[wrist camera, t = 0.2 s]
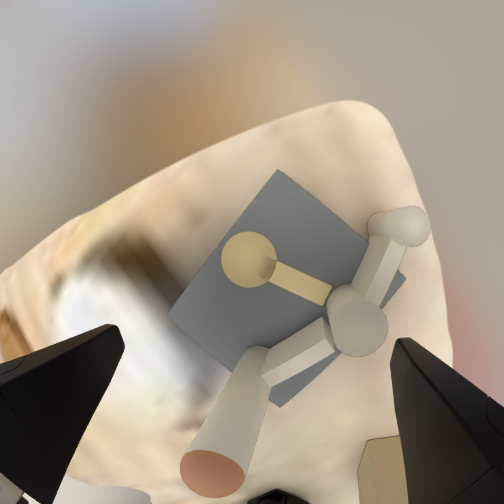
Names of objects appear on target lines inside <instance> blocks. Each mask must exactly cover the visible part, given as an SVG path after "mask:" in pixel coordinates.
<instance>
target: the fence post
mask: <svg viewBox="0 0 504 504" xmlns="http://www.w3.org/2000/svg"><path fill="white" fill-rule="evenodd" d="M334 352H335V350H334V345H333V340H332V335H331V330H330V327H329V325H328V324H327V322H326V321H325V320H324V318H323V317H320V318H319V319H317V320H316V321H314V322H312V323H311V324H309V325H308V326H306V327H305V328H303V329H301V330H300V331H298V332H297V333H295V334H293V335H292V336H290V337H288V338H287V339H285V340H283V341H282V342H280V343H278V344H277V345H275V346H273V347H272V348H270V349H268V348H266V347H263V346H253V347H250V348H248V349H247V350H246V351H245V352H244V353H243V355H242V357H241V358H240V360H239V362H238V364H237V366H236V367H235V369H234V371H233V373H232V375H231V376H230V378H229V380H228V382H227V383H226V385H225V387H224V389H223V390H222V392H221V394H220V396H219V397H218V399H217V401H216V403H215V404H214V406H213V408H212V409H211V411H210V413H209V415H208V416H207V418H206V420H205V421H204V423H203V425H202V426H201V428H200V430H199V431H198V433H197V435H196V436H195V438H194V440H193V441H192V443H191V445H190V446H189V448H188V449H187V451H186V453H185V454H184V456H183V458H182V460H181V463H180V473H181V477H182V479H183V481H184V483H185V484H186V485H187V486H188V487H189V488H190V489H191V490H192V491H194V492H195V493H197V494H199V495H201V496H205V497H210V498H220V497H225V496H228V495H230V494H232V493H234V492H235V491H236V490H238V489H239V488H240V486H241V485H242V483H243V481H244V479H245V476H246V473H247V470H248V467H249V464H250V460H251V457H252V454H253V451H254V447H255V444H256V441H257V437H258V434H259V431H260V427H261V424H262V420H263V417H264V413H265V410H266V406H267V402H268V399H269V395H270V391H271V388H272V387H273V386H275V385H277V384H279V383H281V382H283V381H284V380H286V379H288V378H290V377H292V376H294V375H296V374H298V373H299V372H301V371H303V370H305V369H307V368H308V367H310V366H312V365H314V364H315V363H317V362H319V361H320V360H322V359H324V358H325V357H327V356H329V355H330V354H332V353H334Z"/></svg>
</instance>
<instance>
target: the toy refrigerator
mask: <svg viewBox="0 0 504 504" xmlns="http://www.w3.org/2000/svg"><path fill="white" fill-rule="evenodd" d="M357 475H358V487H359V501H360V504H408V494H407V484H406V475H405V467H404V460H403V453H402V447H401V441H400V436H396V437H389V438H381V439H373V440H369V441H367V443H366V447H365V450H364V453H363V456H362V460H361V463H360V466H359V469H358V472H357Z"/></svg>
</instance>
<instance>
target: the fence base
mask: <svg viewBox="0 0 504 504" xmlns="http://www.w3.org/2000/svg"><path fill="white" fill-rule="evenodd" d="M368 232H369V235H370V237H369V239H368V241H367V242H368V243H369V246H368V248H367V250H366V253H365V255H364V257H363V259H362V261H361V264H360V266H359V268H358V270H357V272H356V274H355V276H354V279H353V281H352V283H351V284H344V285H341V286H339V287H337V288H336V289H334V290H333V291H332V293H331V294H330V295H329V297H328V300H327V305H326V308H327V314H328V318H329V322H330V327H331V331H332V336H333V340H334V343H335V345H336V347H337V348H338V349H339V350H340V351H341V352H342V353H344V354H346V355H348V356H352V357H362V356H366V355H368V354H371V353H372V352H374V351H375V350H377V349H378V348H379V347H380V346H381V345H382V343H383V342H384V340H385V338H386V336H387V332H388V321H387V318H386V316H385V314H384V312H383V311H382V310H381V309H380V308H379V306H380V304H381V302H382V300H383V298H384V296H385V294H386V292H387V290H388V288H389V286H390V284H391V282H392V279H393V277H394V275H395V273H396V271H397V269H398V266H399V264H400V262H401V259H402V257H403V255H404V252H405V250H406V248H407V246H409V247H417V246H420V245H421V244H423V243H424V242H425V241H426V239H427V238H428V236H429V233H430V221H429V218H428V216H427V214H426V213H425V212H424V211H423V210H422V209H421V208H419V207H417V206H406V207H402V208H398V209H394V210H390V211H385V212H381V213H377V214H375V215H373V216H372V217H371V218H370V219H369V222H368Z"/></svg>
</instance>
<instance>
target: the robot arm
mask: <svg viewBox="0 0 504 504" xmlns="http://www.w3.org/2000/svg"><path fill="white" fill-rule="evenodd" d="M124 349H125V344H124V341H123V339H122V336H121V333H120V330H119V328H118V327H117V326H116V325H112V324H105V325H103V326H100V327H97V328H95V329H92V330H90V331H87V332H85V333H82V334H79V335H77V336H74V337H72V338H69V339H67V340H64V341H61V342H59V343H56V344H54V345H51V346H48V347H46V348H43V349H40V350H38V351H35V352H32V353H30V354H28V355H24V356H22V357H19V358H16V359H13V360H11V361H8V362H4V363H1V364H0V504H29V503H28V501H27V500H26V499H25V498H24V497H23V496H22V495H23V494H24V492H25V493H26V494H28V495H29V496H30V497H32V498H33V499H35V500H36V501H38V502H39V503H40V504H52V503H53V501H54V499H55V496H56V494H57V491H58V489H59V487H60V484H61V482H62V480H63V477H64V475H65V473H66V471H67V468H68V466H69V463H70V461H71V459H72V457H73V455H74V453H75V451H76V448H77V446H78V444H79V442H80V440H81V438H82V436H83V434H84V432H85V430H86V428H87V426H88V424H89V422H90V420H91V418H92V416H93V414H94V412H95V410H96V408H97V407H98V405H99V403H100V401H101V399H102V397H103V395H104V393H105V392H106V390H107V388H108V386H109V384H110V382H111V380H112V377H113V375H114V373H115V370H116V368H117V366H118V363H119V361H120V359H121V357H122V354H123V352H124ZM390 370H391V378H392V387H393V397H394V407H395V414H396V419H397V424H398V429H399V435H400V441H401V447H402V453H403V460H404V467H405V475H406V484H407V494H408V504H504V407H503V406H501V405H500V404H499V403H497V402H496V401H494V400H493V399H492V398H491V397H490V396H489V397H487V394H485V393H484V392H483V391H482V390H480V389H479V388H478V387H476V386H475V385H474V384H472V383H471V382H470V381H468V380H467V379H466V378H464V377H463V376H462V375H460V374H459V373H458V372H456V371H455V370H454V369H452V368H451V367H450V366H448V365H447V364H446V363H444V362H443V361H442V360H440V359H439V358H438V357H436V356H435V355H433V354H432V353H431V352H429V351H428V350H427V349H425V348H424V347H422V346H421V345H420V344H418V343H417V342H416V341H414V340H413V339H411V338H409V337H407V338H398V339H397V340H396V342H395V345H394V349H393V353H392V356H391V360H390ZM247 504H309V503H307V502H305V501H302V500H300V499H298V498H295V497H293V496H291V495H289V494H286V493H284V492H282V491H280V490H273V491H271V492H269V493H266V494H264V495H262V496H259V497H257V498H255V499H252V500H250V501H248V503H247Z"/></svg>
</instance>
